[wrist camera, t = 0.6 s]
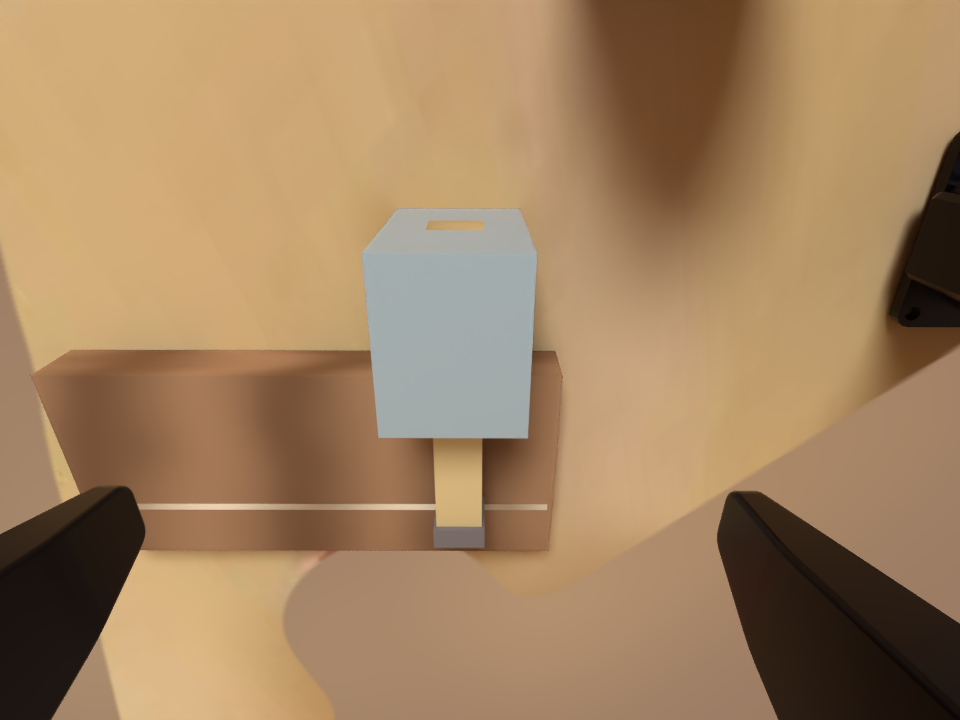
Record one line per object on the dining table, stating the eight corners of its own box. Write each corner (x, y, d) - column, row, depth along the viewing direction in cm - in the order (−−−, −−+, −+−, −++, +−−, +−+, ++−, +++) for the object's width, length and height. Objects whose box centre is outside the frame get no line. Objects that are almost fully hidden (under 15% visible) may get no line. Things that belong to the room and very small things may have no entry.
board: (555, 351, 20) (562, 377, 18) (543, 515, 24) (548, 551, 22) (71, 350, 20) (29, 376, 18) (132, 515, 23) (103, 550, 22)
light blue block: (519, 209, 18) (536, 253, 12) (510, 483, 22) (519, 603, 17) (398, 208, 18) (361, 252, 12) (414, 482, 22) (393, 602, 17)
